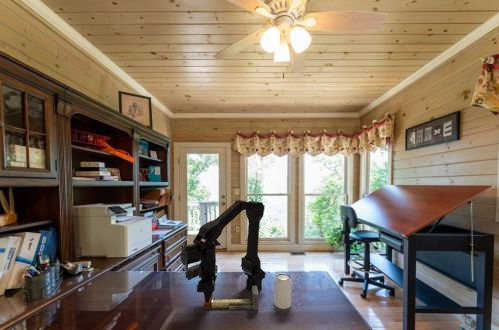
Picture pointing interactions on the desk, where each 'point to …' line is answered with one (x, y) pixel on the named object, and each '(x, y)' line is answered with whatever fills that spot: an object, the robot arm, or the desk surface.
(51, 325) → the desk surface
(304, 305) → the desk surface
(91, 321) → the desk surface
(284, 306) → the can
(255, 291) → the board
